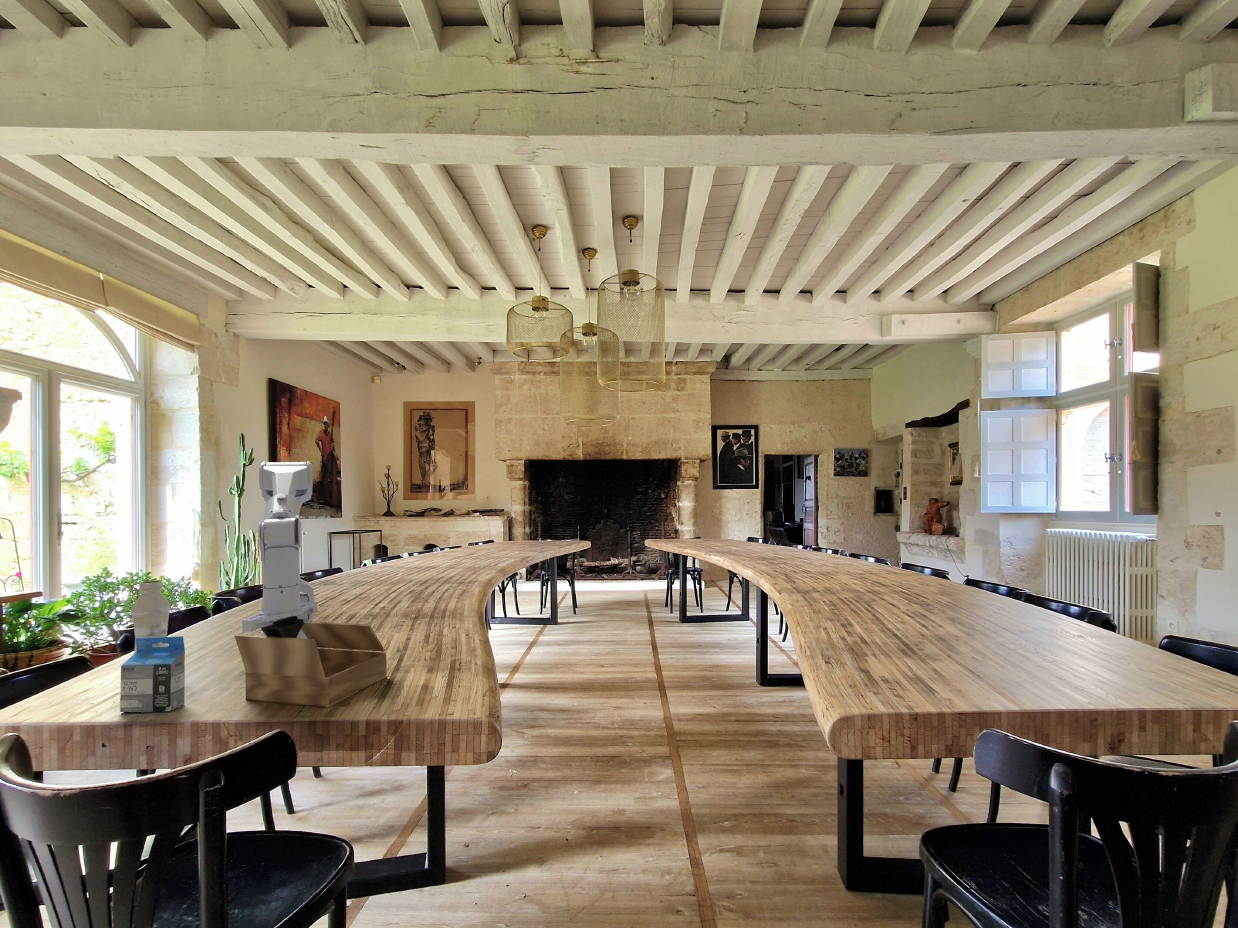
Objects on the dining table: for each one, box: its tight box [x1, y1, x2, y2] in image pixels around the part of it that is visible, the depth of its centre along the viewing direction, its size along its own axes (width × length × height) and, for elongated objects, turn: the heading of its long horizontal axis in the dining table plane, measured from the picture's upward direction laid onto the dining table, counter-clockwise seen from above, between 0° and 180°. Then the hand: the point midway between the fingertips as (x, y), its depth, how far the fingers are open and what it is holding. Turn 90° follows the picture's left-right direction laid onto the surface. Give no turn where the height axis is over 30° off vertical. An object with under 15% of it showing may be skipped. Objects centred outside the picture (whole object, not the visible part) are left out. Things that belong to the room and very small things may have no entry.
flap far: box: [301, 621, 386, 652], centre depth 120 cm, size 17×8×1 cm
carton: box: [244, 648, 388, 709], centre depth 114 cm, size 18×16×5 cm
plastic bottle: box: [131, 579, 171, 654], centre depth 122 cm, size 6×7×20 cm
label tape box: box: [119, 635, 186, 713], centre depth 106 cm, size 9×4×12 cm, turn 92°
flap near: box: [234, 634, 325, 679], centre depth 105 cm, size 17×8×1 cm
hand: (283, 662), depth 106 cm, fingers closed, pressing on flap near
